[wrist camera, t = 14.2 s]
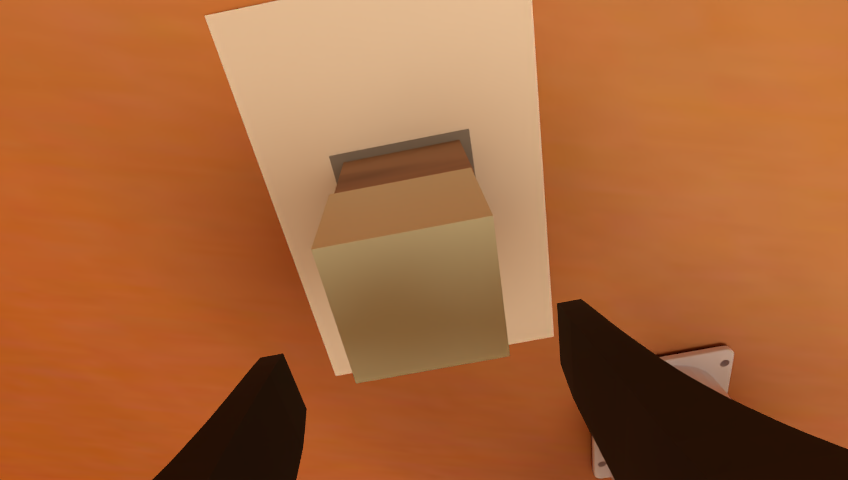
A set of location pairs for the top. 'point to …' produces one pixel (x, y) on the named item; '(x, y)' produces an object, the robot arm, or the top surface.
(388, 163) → the walnut block
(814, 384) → the top surface
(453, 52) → the board
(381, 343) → the sage block
